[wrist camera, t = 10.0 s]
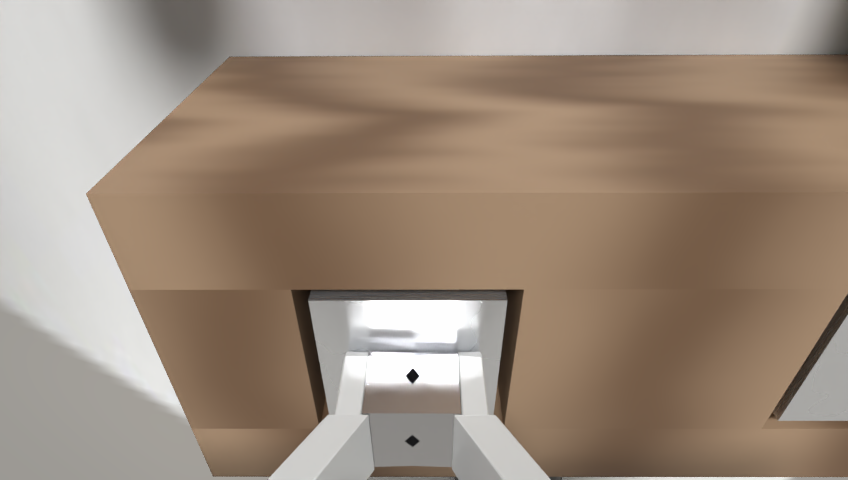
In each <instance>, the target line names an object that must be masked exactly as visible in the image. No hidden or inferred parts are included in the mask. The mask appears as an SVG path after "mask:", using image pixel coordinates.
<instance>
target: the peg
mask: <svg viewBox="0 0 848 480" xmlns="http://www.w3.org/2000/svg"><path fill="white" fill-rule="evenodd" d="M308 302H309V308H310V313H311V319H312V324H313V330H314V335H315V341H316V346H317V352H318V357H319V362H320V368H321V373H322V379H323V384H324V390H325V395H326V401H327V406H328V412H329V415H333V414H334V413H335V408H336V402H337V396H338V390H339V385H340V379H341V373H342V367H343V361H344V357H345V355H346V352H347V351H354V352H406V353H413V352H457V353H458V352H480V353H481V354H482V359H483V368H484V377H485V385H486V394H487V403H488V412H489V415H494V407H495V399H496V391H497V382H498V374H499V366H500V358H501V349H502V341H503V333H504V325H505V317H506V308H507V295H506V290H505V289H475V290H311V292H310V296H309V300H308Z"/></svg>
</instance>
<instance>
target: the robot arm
mask: <svg viewBox="0 0 848 480" xmlns="http://www.w3.org/2000/svg"><path fill="white" fill-rule="evenodd" d="M390 466H432V467H452V470H453V472H454V473H455V475H456V477H457V478H458V480H551V479H550V478H549V477H548V476H547V475H546V473H545V472H544V471H543V470H542V469H541V468H540V466H539V465H538V464H537V463H536V462H535V461H534V459H533V458H532V457H531V456H530V455H529V453H528V452H527V451H526V450H525V449H524V448H523V446H522V445H521V444H520V443H519V442H518V441H517V439H516V438H515V437H514V436H513V435H512V434H511V432H510V431H509V430H508V429H507V428H506V426H505V425H504V424H503V423H502V422H501V421H500V419H499V418H498V417H497V416H496V415H489V412H488V403H487V394H486V385H485V377H484V368H483V359H482V354H481V353H480V352H458V353H457V352H413V353H406V352H354V351H347V352H346V355H345V357H344V361H343V367H342V373H341V379H340V385H339V390H338V396H337V402H336V408H335V413H334V414H333V415H327V416H326V417H325V418H324V419H323V420H322V421H321V422H320V423H319V424H318V425H317V427H316V428H315V429H314V430H313V431H312V432H311V433H310V434H309V435H308V436H307V437H306V438H305V440H304V441H303V442H302V443H301V444H300V445H299V446H298V447H297V448H296V449H295V450H294V451H293V453H292V454H291V455H290V456H289V457H288V458H287V459H286V460H285V461H284V462H283V463H282V464H281V465H280V467H279V468H278V469H277V470H276V471H275V472H274V473H273V474H272V475H271V476H270V477H269V478H268V480H368V478H369V477H370V475H371V474H372V472H373V471H374V467H390Z"/></svg>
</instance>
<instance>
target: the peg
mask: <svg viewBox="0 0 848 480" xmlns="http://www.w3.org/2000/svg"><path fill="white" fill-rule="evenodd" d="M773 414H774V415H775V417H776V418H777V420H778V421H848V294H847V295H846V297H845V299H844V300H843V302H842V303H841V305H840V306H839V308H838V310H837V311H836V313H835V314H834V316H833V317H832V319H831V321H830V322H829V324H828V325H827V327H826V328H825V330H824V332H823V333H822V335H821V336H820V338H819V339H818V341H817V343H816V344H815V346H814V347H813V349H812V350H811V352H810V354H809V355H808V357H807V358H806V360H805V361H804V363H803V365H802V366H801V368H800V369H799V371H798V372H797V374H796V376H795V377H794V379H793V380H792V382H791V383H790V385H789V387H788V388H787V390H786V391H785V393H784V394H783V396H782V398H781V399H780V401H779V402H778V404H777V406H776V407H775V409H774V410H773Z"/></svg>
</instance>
